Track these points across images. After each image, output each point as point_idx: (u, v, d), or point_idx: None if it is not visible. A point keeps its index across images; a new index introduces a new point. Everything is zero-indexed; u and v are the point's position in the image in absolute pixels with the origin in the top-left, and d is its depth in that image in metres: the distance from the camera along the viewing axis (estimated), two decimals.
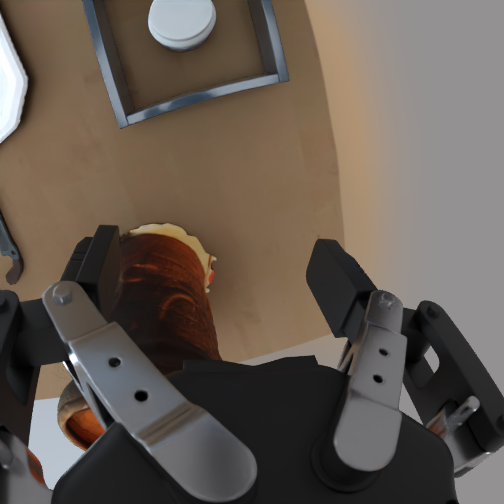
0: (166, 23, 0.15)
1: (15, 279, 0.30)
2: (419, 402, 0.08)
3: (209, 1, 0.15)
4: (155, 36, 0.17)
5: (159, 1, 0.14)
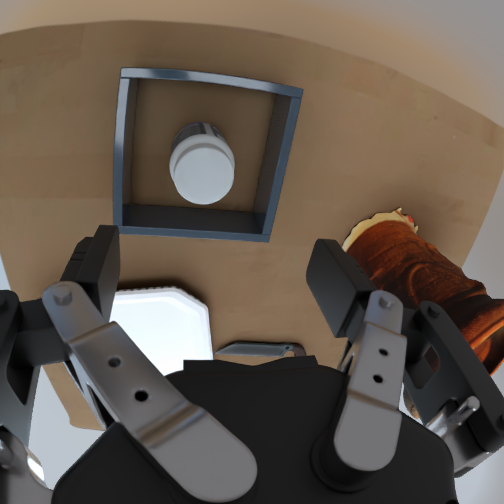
0: (211, 192, 0.21)
1: None
2: (419, 402, 0.08)
3: (204, 149, 0.19)
4: None
5: (185, 191, 0.20)
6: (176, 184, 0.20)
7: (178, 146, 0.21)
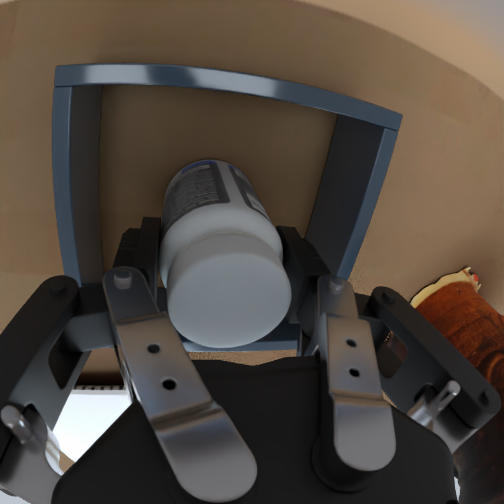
0: (244, 330, 0.10)
1: None
2: (392, 391, 0.09)
3: (232, 257, 0.09)
4: None
5: (192, 332, 0.10)
6: (174, 321, 0.10)
7: (173, 230, 0.10)
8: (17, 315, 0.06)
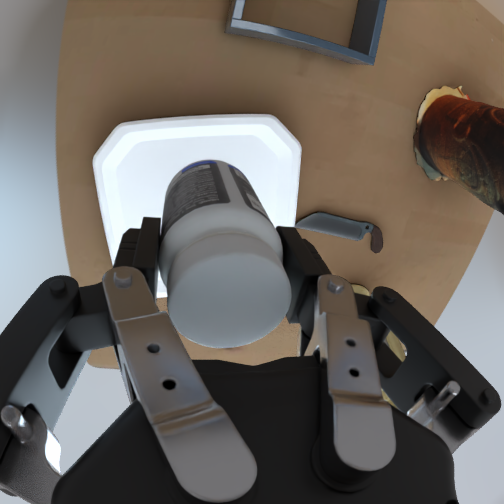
0: (244, 330, 0.10)
1: (381, 243, 0.40)
2: (391, 390, 0.09)
3: (232, 258, 0.09)
4: None
5: (192, 332, 0.10)
6: (174, 321, 0.10)
7: (173, 230, 0.10)
8: (17, 315, 0.06)
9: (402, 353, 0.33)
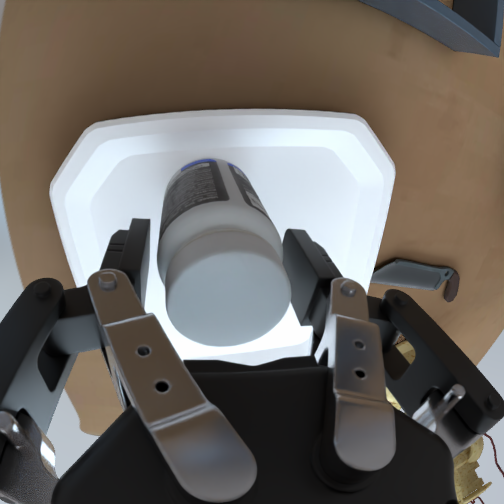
0: (243, 329, 0.10)
1: (457, 290, 0.28)
2: (399, 393, 0.09)
3: (231, 255, 0.09)
4: None
5: (191, 331, 0.10)
6: (172, 320, 0.10)
7: (172, 228, 0.10)
8: (4, 320, 0.06)
9: None
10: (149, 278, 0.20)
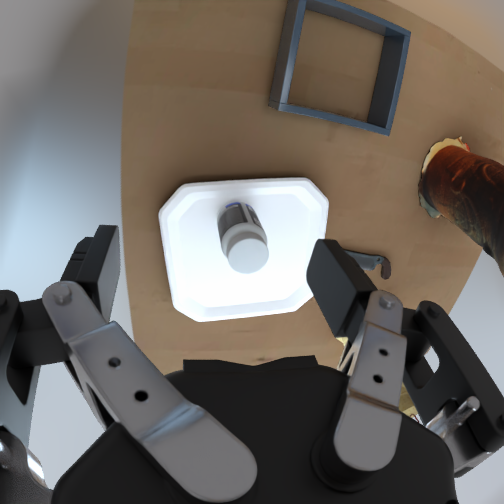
0: (253, 266, 0.31)
1: (390, 271, 0.48)
2: (419, 402, 0.08)
3: (249, 239, 0.29)
4: None
5: (235, 266, 0.30)
6: (229, 262, 0.30)
7: (228, 231, 0.31)
8: None
9: None
10: (204, 257, 0.40)
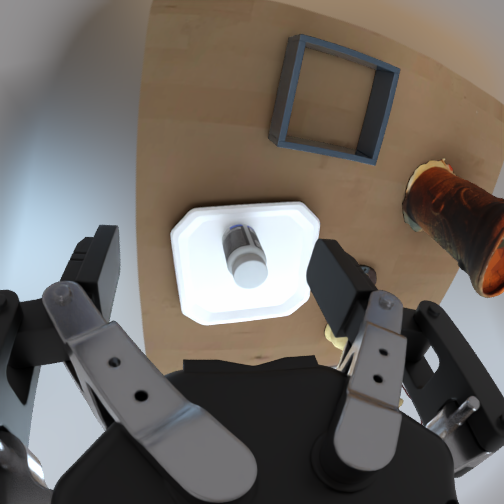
0: (254, 282, 0.36)
1: (375, 279, 0.54)
2: (419, 402, 0.08)
3: (252, 261, 0.35)
4: None
5: (239, 283, 0.36)
6: (234, 279, 0.36)
7: (233, 253, 0.36)
8: None
9: None
10: (210, 270, 0.46)
